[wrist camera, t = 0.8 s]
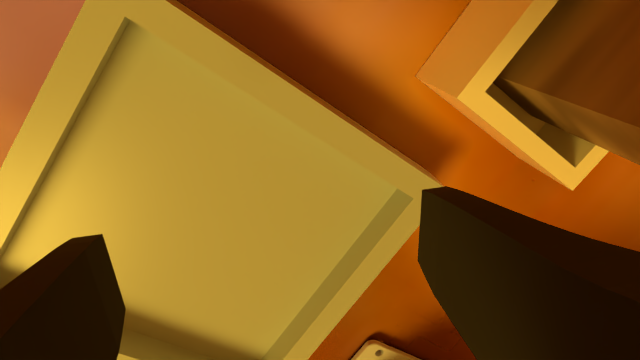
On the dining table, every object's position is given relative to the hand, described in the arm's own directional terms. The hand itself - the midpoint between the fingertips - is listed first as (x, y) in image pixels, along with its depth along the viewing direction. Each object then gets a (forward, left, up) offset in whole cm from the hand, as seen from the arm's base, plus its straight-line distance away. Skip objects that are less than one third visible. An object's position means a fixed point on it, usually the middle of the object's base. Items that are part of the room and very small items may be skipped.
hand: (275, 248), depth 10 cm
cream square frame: (-1, +5, -10) cm, 12 cm away
